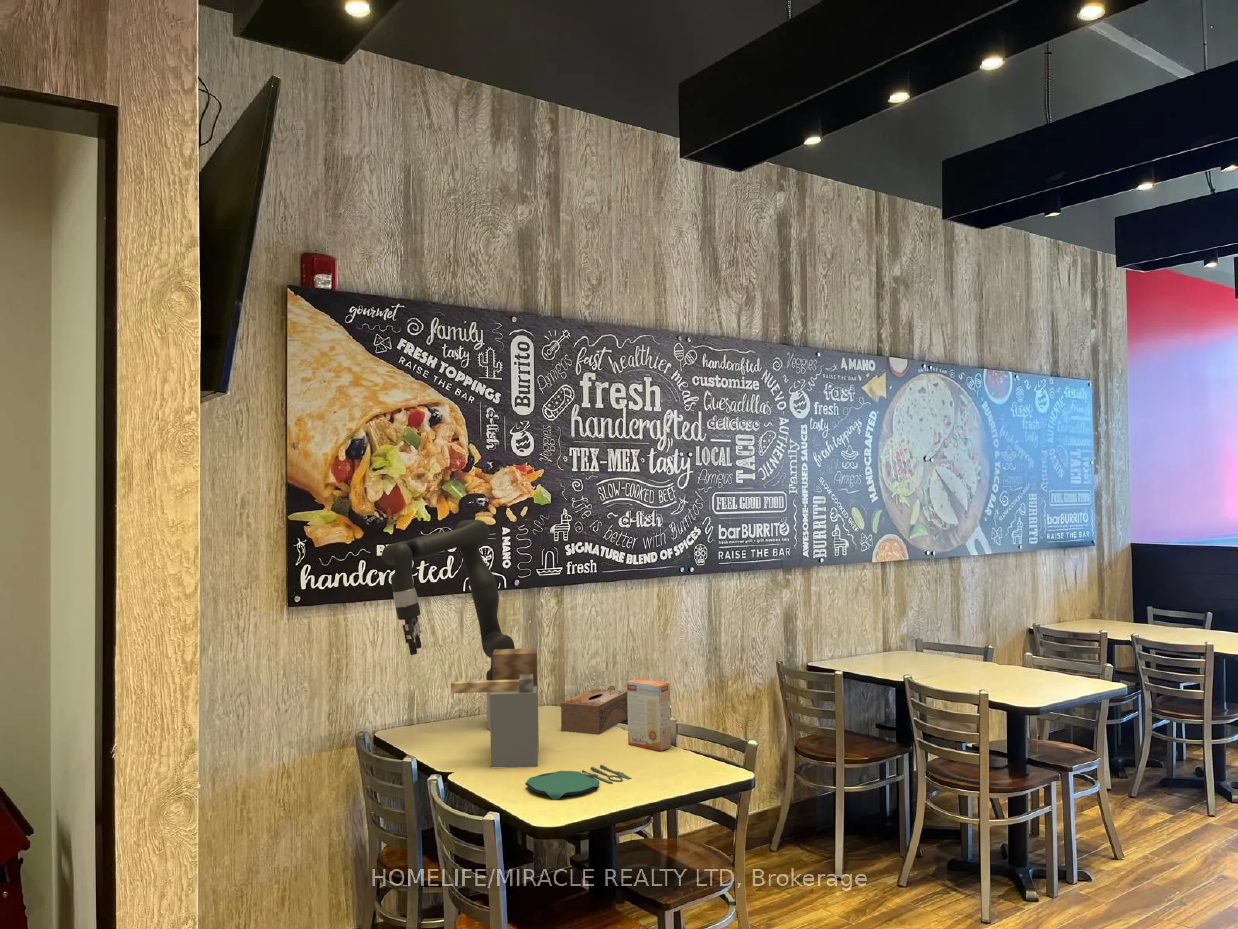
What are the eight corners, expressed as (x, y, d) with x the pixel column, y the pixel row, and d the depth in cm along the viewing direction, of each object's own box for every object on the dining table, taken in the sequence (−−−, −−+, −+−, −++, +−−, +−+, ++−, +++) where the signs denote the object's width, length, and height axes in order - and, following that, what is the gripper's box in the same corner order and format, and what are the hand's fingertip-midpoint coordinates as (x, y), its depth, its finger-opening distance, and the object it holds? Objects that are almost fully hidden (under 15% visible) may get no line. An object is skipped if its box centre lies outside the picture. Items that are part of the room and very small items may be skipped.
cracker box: (672, 748, 289) (670, 682, 290) (660, 752, 285) (658, 685, 286) (639, 741, 299) (638, 677, 300) (627, 744, 294) (626, 680, 295)
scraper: (449, 695, 272) (449, 682, 272) (452, 689, 280) (452, 676, 280) (532, 692, 274) (532, 679, 274) (533, 687, 282) (533, 674, 282)
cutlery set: (513, 787, 253) (513, 778, 253) (599, 768, 271) (599, 760, 271) (551, 806, 237) (552, 797, 237) (640, 784, 255) (640, 776, 256)
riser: (493, 757, 283) (492, 654, 284) (495, 748, 293) (494, 649, 294) (538, 755, 284) (536, 653, 285) (538, 746, 294) (537, 648, 295)
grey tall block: (490, 768, 271) (489, 694, 272) (493, 758, 281) (492, 687, 282) (537, 766, 272) (536, 693, 273) (538, 757, 282) (536, 686, 283)
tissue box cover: (598, 735, 308) (598, 706, 308) (561, 732, 314) (560, 703, 314) (628, 718, 331) (628, 691, 332) (593, 715, 337) (592, 688, 337)
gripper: (399, 601, 302) (409, 648, 302) (390, 609, 288) (400, 658, 288) (421, 597, 302) (431, 644, 303) (414, 604, 288) (424, 654, 288)
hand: (416, 651), depth 295 cm, fingers open, 8 cm apart
